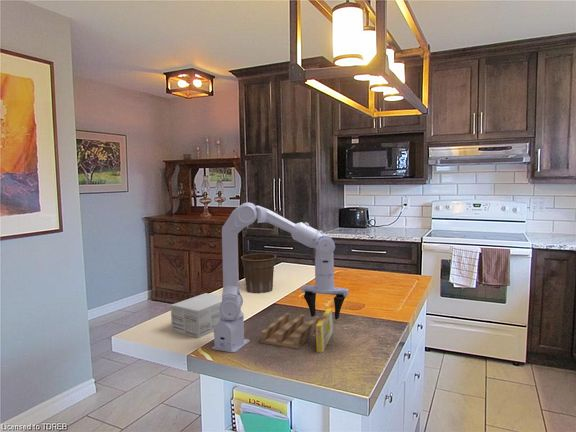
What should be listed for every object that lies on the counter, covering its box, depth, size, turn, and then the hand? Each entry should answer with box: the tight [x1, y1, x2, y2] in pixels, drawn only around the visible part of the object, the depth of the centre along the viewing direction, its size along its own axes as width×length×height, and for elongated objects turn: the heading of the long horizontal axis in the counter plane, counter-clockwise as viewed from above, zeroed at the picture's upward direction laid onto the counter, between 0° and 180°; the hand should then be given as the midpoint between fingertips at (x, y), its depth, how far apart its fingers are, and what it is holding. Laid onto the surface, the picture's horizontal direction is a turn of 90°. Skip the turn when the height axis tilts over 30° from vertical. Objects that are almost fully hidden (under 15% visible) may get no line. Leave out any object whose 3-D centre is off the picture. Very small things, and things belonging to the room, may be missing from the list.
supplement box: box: [170, 292, 222, 339], centre depth 140 cm, size 17×13×9 cm
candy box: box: [315, 308, 334, 353], centre depth 124 cm, size 16×2×8 cm, turn 163°
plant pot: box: [240, 253, 277, 294], centre depth 185 cm, size 16×16×16 cm
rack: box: [260, 312, 321, 349], centre depth 131 cm, size 20×12×4 cm, turn 157°
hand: (325, 317), depth 124 cm, fingers open, 7 cm apart
